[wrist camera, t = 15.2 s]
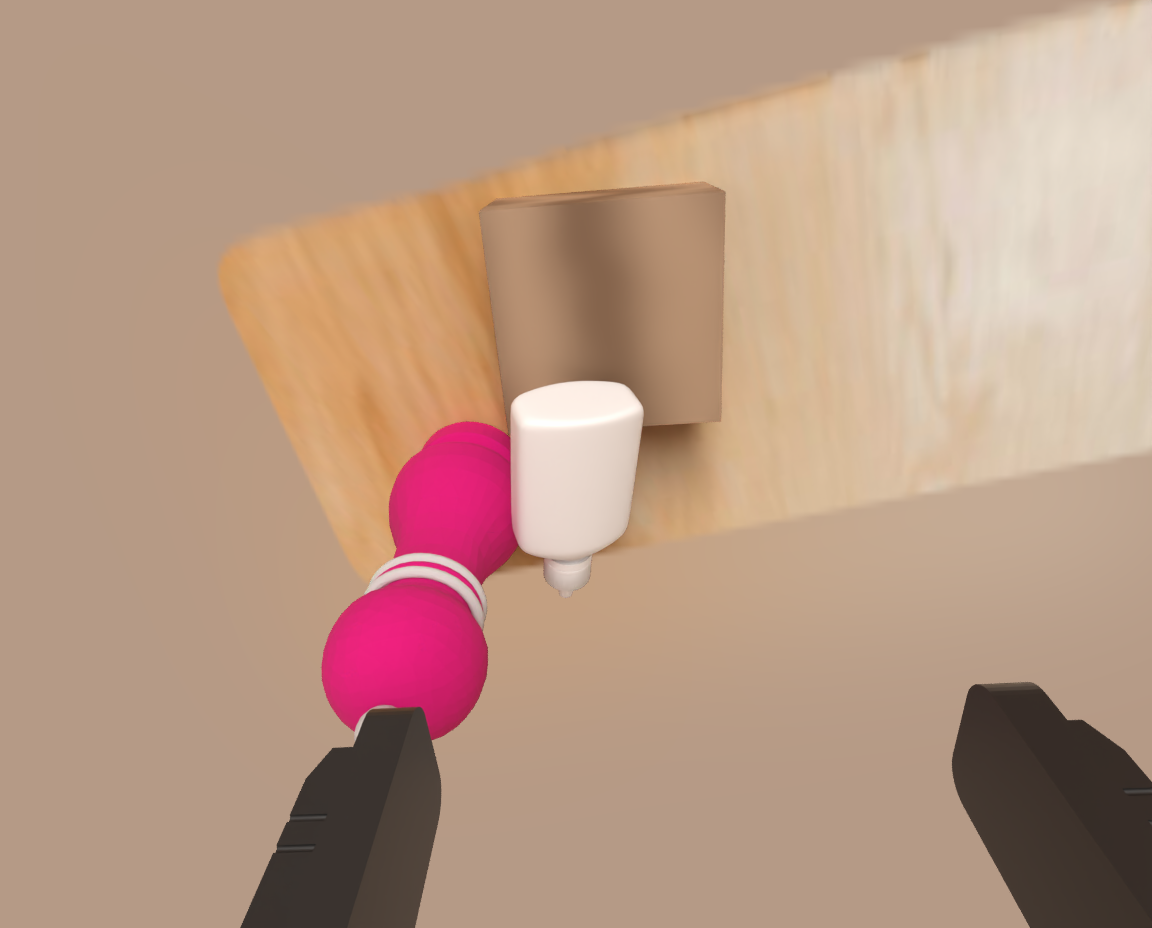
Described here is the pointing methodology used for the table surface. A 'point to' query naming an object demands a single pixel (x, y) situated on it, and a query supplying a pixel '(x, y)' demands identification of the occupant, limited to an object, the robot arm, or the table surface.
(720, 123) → the table surface
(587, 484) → the eye dropper bottle
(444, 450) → the pepper mill
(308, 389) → the table surface
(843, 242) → the table surface
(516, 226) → the walnut box
